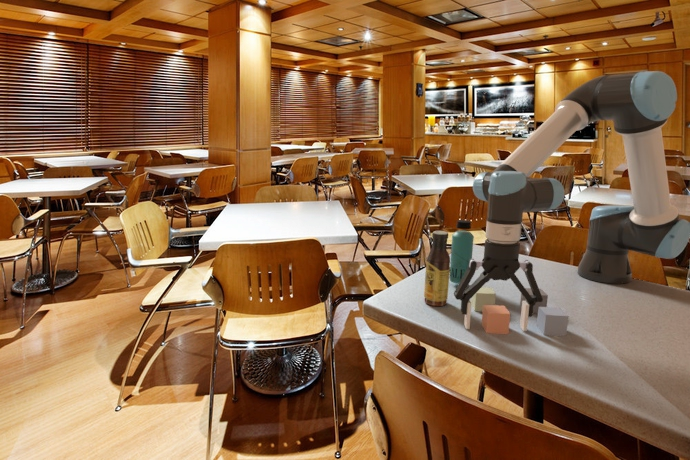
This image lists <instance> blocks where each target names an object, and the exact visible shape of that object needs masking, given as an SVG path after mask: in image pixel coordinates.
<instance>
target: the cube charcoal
mask: <svg viewBox="0 0 690 460" xmlns="http://www.w3.org/2000/svg"><path fill="white" fill-rule="evenodd" d="M524 288H525V289H526V290H527V292H528V293H529V294H530V296H533V293H532V290H531V288H530V287H524ZM539 290H540V293H541V296H542V298H543V301H542V302H536V304H535V305H534V306H533V314H538V308H539V307H548V306H547V305H548V297H549V295H548V294H547V293H546V292H545V291H544V290H543V289H542V288H539ZM522 301H526V299H525V297H524V296H523V295H522V293H521V292H520V300H519V307H521V308H522Z"/></svg>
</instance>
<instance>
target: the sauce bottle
mask: <svg viewBox="0 0 690 460" xmlns="http://www.w3.org/2000/svg"><path fill="white" fill-rule="evenodd" d="M431 234H432V235H431V238H432V245H431V249H430V251H429V253H428V254H427V255H428V256H427V258H426V263H425V275H424V276H425V277H424V292H423V296H424V303H425V304H427V305H429V306H432V307H443V306H445V305H446V304H447V300H448V296H449V284H450V282H449V281H450V277H449V273H450V265H451V263H450V260H451V257H450V256H451V255H450V254H449V252H448V250H447V249H448V246H447V245H448V239H449V233H448V231H445V230H444V231H443V230H435V231H433V232H432V233H431Z"/></svg>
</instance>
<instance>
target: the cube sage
mask: <svg viewBox="0 0 690 460" xmlns="http://www.w3.org/2000/svg"><path fill="white" fill-rule="evenodd" d="M496 296H497V294H496V292H495V291H494V289H493V287H491V286H482V287H481V288H480V289H479V290H478V291H477V292H476V293H475V294H474V296H473V297H472V298H471V299H470V302H471V308H473V310H474V311H475V312H483V305H496Z"/></svg>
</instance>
